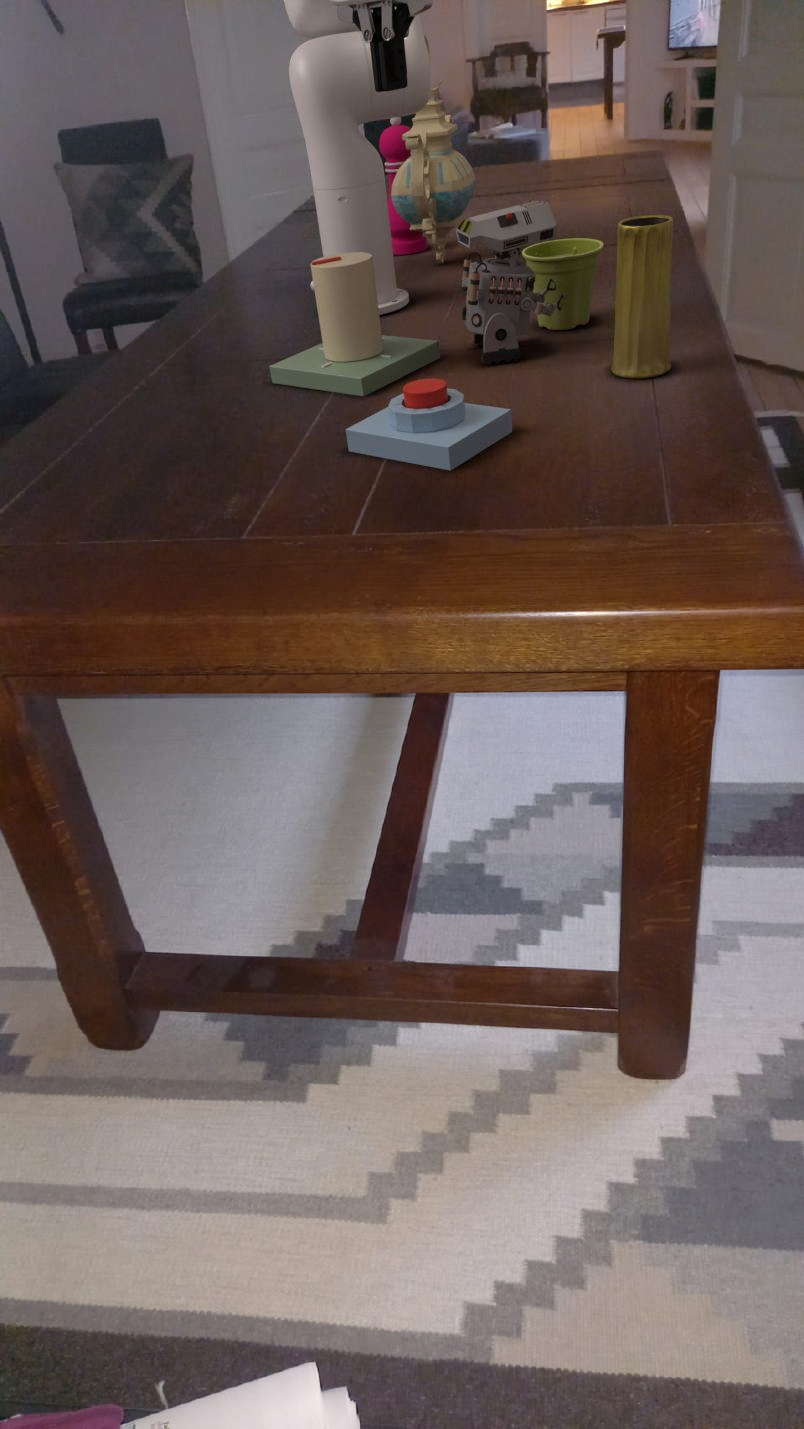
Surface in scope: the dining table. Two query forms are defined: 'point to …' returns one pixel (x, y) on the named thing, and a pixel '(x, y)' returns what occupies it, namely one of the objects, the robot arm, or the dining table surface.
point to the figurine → (504, 277)
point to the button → (425, 393)
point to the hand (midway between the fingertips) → (391, 89)
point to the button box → (430, 432)
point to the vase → (643, 297)
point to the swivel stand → (355, 367)
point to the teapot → (433, 176)
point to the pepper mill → (395, 156)
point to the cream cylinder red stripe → (347, 306)
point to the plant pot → (565, 278)
